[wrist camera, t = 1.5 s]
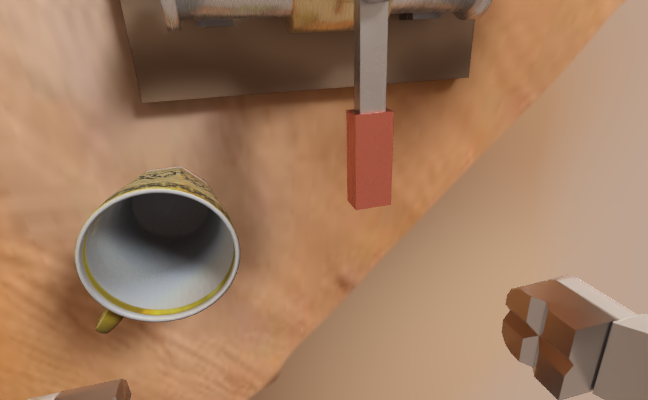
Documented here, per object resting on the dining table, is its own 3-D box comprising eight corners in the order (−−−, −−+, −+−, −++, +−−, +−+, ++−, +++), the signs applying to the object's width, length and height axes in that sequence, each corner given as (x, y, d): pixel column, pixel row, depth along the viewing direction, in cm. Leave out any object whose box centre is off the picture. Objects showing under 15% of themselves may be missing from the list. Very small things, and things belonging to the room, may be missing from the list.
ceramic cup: (153, 121, 32) (134, 156, 23) (253, 189, 36) (269, 240, 27) (63, 242, 33) (13, 318, 24) (169, 292, 38) (160, 372, 29)
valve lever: (332, -44, 22) (357, -58, 19) (375, -44, 23) (407, -58, 19) (337, 191, 28) (357, 214, 24) (372, 186, 28) (396, 207, 25)
